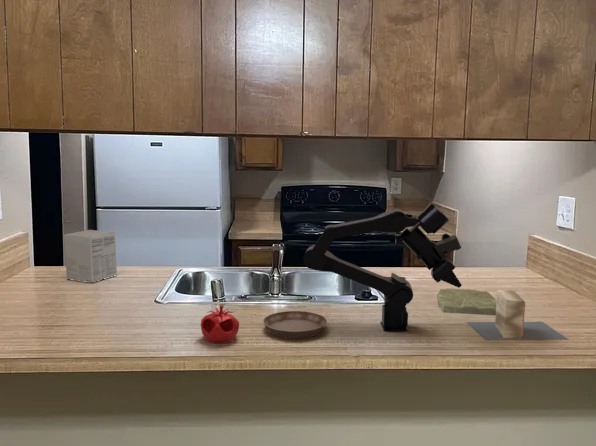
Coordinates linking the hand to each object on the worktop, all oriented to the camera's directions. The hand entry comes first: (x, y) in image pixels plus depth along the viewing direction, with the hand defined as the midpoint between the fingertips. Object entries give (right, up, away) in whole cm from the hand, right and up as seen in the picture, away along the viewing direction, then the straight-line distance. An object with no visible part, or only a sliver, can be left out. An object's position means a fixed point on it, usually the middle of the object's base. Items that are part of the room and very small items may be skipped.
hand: (460, 286), depth 142 cm
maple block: (+13, -13, 0) cm, 18 cm away
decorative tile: (+10, -10, +25) cm, 29 cm away
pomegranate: (-65, -14, -5) cm, 67 cm away
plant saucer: (-46, -13, +2) cm, 47 cm away
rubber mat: (+16, -13, +2) cm, 20 cm away
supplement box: (-123, -4, +56) cm, 136 cm away
